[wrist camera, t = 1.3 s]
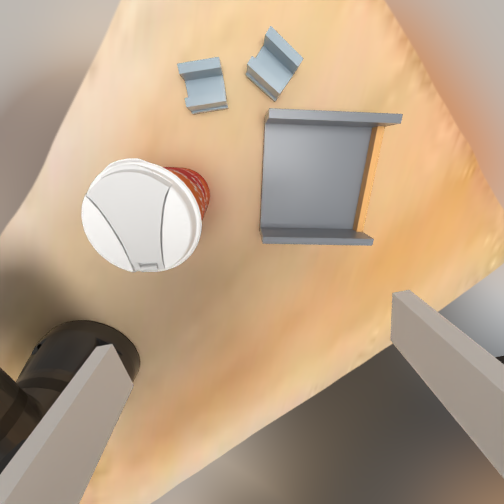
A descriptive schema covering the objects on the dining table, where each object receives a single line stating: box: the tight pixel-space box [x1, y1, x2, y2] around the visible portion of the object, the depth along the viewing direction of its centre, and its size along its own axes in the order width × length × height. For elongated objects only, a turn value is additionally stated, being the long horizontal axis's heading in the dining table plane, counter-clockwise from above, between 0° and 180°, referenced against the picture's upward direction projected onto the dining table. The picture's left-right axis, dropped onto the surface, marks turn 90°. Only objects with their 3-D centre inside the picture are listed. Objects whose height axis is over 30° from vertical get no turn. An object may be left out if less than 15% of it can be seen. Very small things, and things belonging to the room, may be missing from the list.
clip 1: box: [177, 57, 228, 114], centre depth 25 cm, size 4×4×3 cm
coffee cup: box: [81, 158, 210, 272], centre depth 23 cm, size 8×8×15 cm
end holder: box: [260, 108, 403, 245], centre depth 28 cm, size 13×14×5 cm
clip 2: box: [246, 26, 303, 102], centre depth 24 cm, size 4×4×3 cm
